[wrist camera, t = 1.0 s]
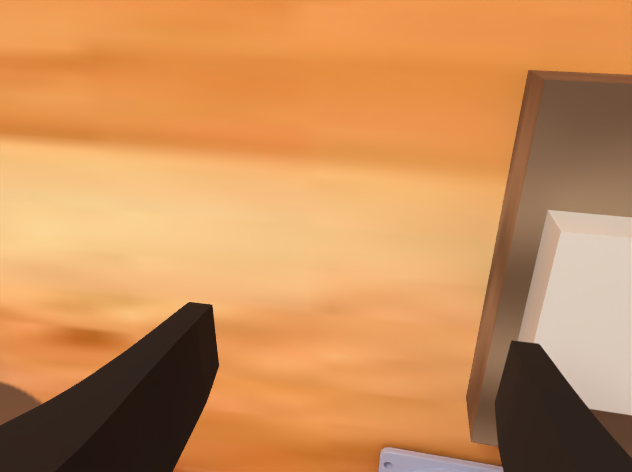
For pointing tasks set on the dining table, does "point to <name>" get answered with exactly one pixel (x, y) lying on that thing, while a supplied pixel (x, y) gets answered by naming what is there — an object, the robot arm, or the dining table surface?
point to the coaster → (585, 305)
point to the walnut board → (551, 194)
